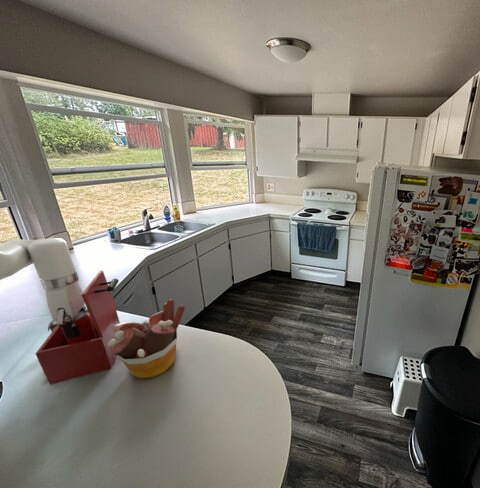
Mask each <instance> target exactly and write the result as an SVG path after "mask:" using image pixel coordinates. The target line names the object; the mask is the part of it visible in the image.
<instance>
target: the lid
mask: <svg viewBox="0 0 480 488" xmlns="http://www.w3.org/2000/svg"><path fill="white" fill-rule="evenodd" d="M119 282H120V281H119V279H118V278H112V279H111V280H108V281H107V278H106V275H105V272H104V270H99V271H98V273H97V274H96V275H95V276H94V277H93V279H92V280H91V282H90V283H89V284H88V285H87V287H86V288H85V289H84V291H82V292H83V293H82V297H83V300H84V302H85V303H84V305H85V307H86V309H88V311H89V314H90V316H91V319H92V321H93V323H94V326H95V328H96V330H97V333H98V335H99V337H100V338H102V337H103V336H104V334H105V332H106V330H107V328H108V326H109V324H110V321H111V319H112V317H113V315H114V313H115V311H117V309H118V307H117V304H116V302H115V299H114V297H113V294H112V292H114V290H115V289H116V287H117V285H118V284H119Z"/></svg>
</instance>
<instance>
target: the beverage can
mask: <svg viewBox="0 0 480 488" xmlns="http://www.w3.org/2000/svg"><path fill="white" fill-rule="evenodd" d="M65 317H70V315H66V316H65ZM65 321H66V322H70V323H71V319H66V320H65ZM76 324H77V325H78V328H79V330H80V333H81V335H80V336H78V337H73V338H68V339H67V338H66V336H65V338H66V340H67V343H68V345H70V344H74V343H79V342H83V341H88V340H92V339H97V335H96V332H95V329H94V326H93V323H92V320H91V317H90V315H88V314H87V313H86V312H84V311H79V312H78V314H77V315H76V316H75V325H76ZM62 330H63V329H62ZM63 333H64V331H63ZM64 335H65V333H64Z"/></svg>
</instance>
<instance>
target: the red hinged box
mask: <svg viewBox="0 0 480 488" xmlns="http://www.w3.org/2000/svg"><path fill="white" fill-rule="evenodd" d="M117 311H118V310H116V311H115V313H114V315H113V317H112V319H111V321H110V324H109V326H108V328H107V330H106V332H105V334H104V336H103V337H102V338H100V337H99V335H98V333H97V330H96V328H95V326H94V323H93V321H92V323H93V326H94V329H95V332H96V335H97V339H92V340H88V341H83V342H79V343H74V344H70V345H68V343H67V340H66V338H65V335H64V333H63V330H62V328H61V327H60V326H58V325H57V326H56V328H55V329H54V330H53V332H52V331H51V333H50V334H49V335H48V336H47V338H46V339H45V340H44V342H43V343H42V344H41V346H39V348H38V350H37V351H36V352H35V356H36V359H37V360H38V362H39V365H40V368H41V369H42V371H43V373H44V376H45V378H46V380H47V382H48V384H49V385H50V386H51V385H55V384H58V383H62V382H65V380H66V381H69V379H70V380H73V379H77V378H81V377H84V376H88V375H92V374H96V373H100V372H104V371H107V370H111V369H113V366H114V364H115V360H116V359H117V355H115V354H113V353H112V352H111V347H109V346H108V342H109V341H110V340H112V339H114V338H115V333H114V332H113V330H112V327H113V326H114V325H116V324H119V323H121V322H120V319H119V315H118V312H117ZM90 317H91V316H90ZM91 320H92V319H91ZM61 381H62V382H61Z"/></svg>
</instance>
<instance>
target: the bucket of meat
mask: <svg viewBox="0 0 480 488" xmlns="http://www.w3.org/2000/svg"><path fill="white" fill-rule="evenodd" d="M162 306H163V307H162V310H161V311H158V312H155V313H154V314H152V315H151V316H149V318H148V320H143V321H142V322H141V323H140V322H135V321H125V322H120V323H119V324H116V325H114V326H113V327H112V330H113V332H114V333H115V338H114V339H112V340H110V341H109V342H108V346H109V347H111V352H112V353H113V354H115V355H116V357H118V358H119V359H120V361H122V363H123V365H124V366H125V367H126V368H127V370H128V371H129V372H130V373H131V374H132V375H133V376H135V377H136V378H138V379H151V378H154V377H156V376H159V375H161V374H164V373H165V372H166V371H167V370H168V369H169V368H170V367H171V366H172V365H173V364H174V363H175V361H176V353H177V343H178V342H177V341H178V327H179V326H180V323H181V320H182V317H183V315H184V312H185V310H186V309H185V308H186V307H185V306H184V305H180V306H178V307H177V310H176V312H175V300H173V298H172V299H168V301H167V302H165V303H164V304H163V305H162Z"/></svg>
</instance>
